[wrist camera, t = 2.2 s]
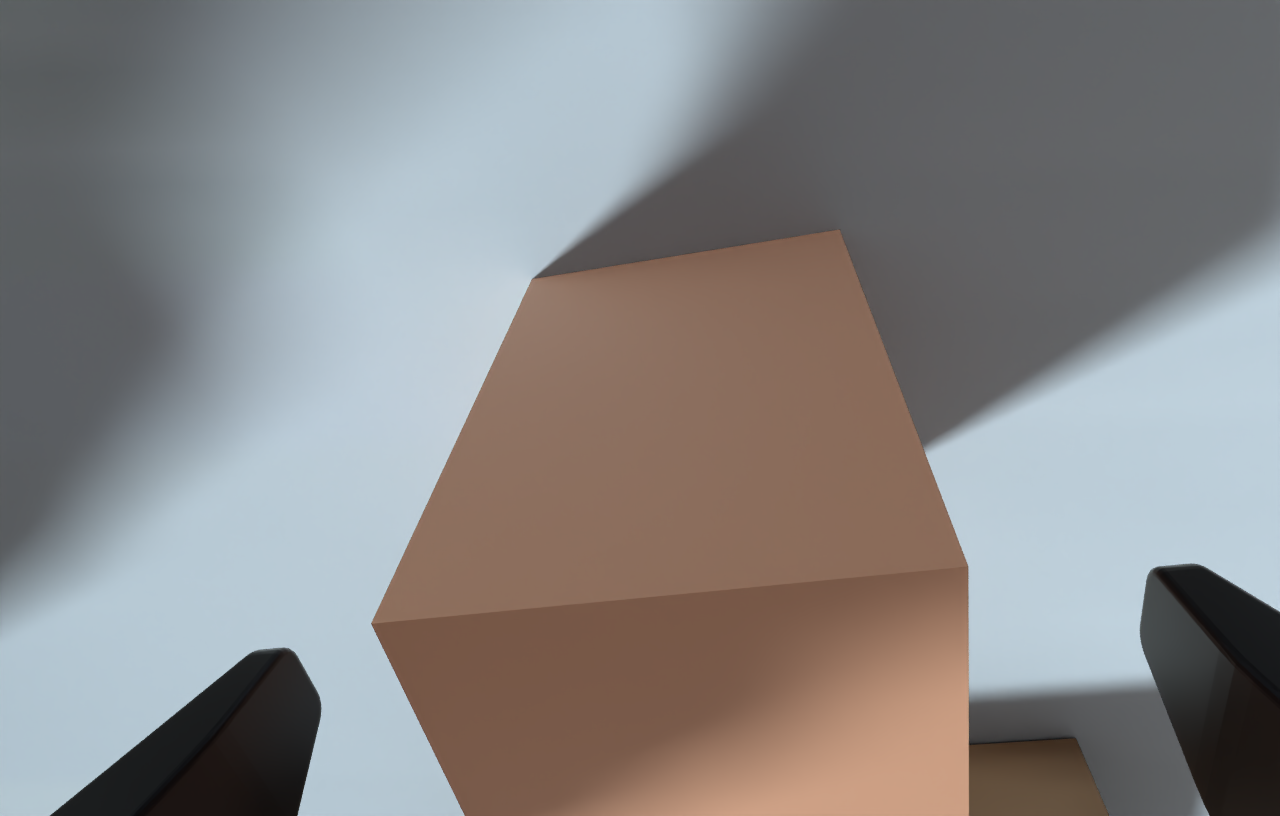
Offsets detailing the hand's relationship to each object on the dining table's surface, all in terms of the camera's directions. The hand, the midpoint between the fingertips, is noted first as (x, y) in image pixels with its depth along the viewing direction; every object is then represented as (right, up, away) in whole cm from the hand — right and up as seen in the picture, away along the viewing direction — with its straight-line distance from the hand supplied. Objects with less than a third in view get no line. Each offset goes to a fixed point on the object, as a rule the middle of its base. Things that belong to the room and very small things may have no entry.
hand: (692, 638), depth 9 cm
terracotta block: (0, +3, +4) cm, 5 cm away
